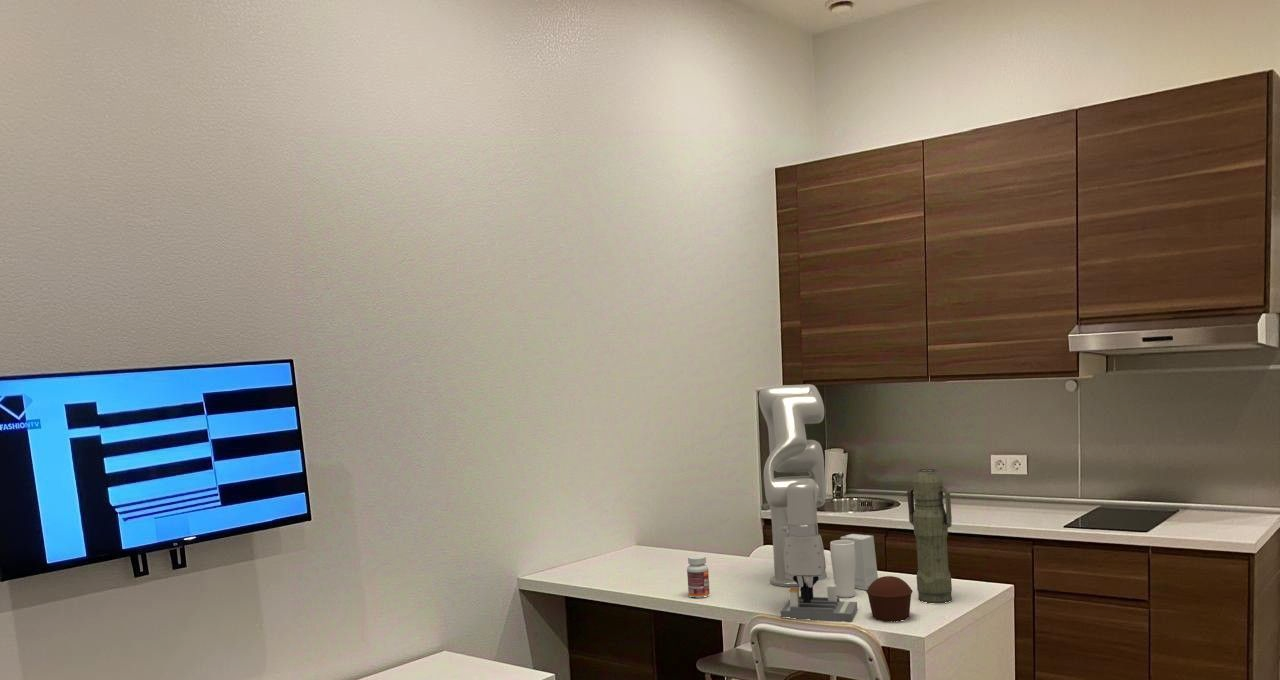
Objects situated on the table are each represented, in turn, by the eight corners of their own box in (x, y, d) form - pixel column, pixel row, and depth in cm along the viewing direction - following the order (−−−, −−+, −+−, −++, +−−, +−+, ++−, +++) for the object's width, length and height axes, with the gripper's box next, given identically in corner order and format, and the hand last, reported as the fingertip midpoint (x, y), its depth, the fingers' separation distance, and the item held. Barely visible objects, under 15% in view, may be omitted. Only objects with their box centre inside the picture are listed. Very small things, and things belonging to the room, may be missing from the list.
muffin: (895, 626, 225) (892, 585, 225) (858, 618, 233) (856, 578, 234) (923, 616, 232) (920, 576, 233) (886, 609, 241) (884, 570, 241)
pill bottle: (709, 598, 262) (707, 558, 262) (687, 599, 262) (685, 559, 263) (709, 593, 268) (707, 554, 268) (688, 593, 268) (686, 555, 269)
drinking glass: (840, 591, 261) (836, 539, 262) (861, 594, 257) (858, 540, 258) (828, 597, 256) (825, 543, 257) (850, 600, 252) (847, 545, 252)
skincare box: (879, 587, 264) (876, 535, 265) (865, 591, 261) (862, 538, 261) (856, 582, 271) (853, 532, 272) (842, 586, 267) (839, 535, 268)
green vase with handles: (919, 593, 254) (911, 467, 256) (962, 598, 247) (954, 468, 248) (907, 601, 248) (899, 471, 249) (950, 606, 240) (942, 472, 242)
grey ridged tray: (789, 606, 248) (788, 582, 248) (857, 609, 242) (855, 584, 242) (780, 618, 237) (779, 592, 237) (851, 621, 230) (850, 595, 231)
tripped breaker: (792, 606, 239) (790, 587, 240) (799, 607, 239) (798, 587, 239) (790, 609, 237) (789, 589, 237) (798, 609, 236) (797, 590, 237)
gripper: (771, 532, 236) (776, 604, 236) (830, 533, 232) (834, 606, 231) (777, 527, 244) (781, 597, 243) (834, 528, 239) (838, 599, 238)
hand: (807, 601), depth 237 cm, fingers closed
